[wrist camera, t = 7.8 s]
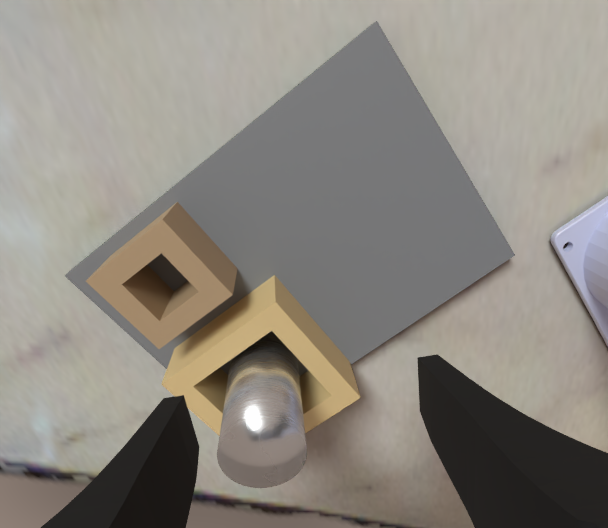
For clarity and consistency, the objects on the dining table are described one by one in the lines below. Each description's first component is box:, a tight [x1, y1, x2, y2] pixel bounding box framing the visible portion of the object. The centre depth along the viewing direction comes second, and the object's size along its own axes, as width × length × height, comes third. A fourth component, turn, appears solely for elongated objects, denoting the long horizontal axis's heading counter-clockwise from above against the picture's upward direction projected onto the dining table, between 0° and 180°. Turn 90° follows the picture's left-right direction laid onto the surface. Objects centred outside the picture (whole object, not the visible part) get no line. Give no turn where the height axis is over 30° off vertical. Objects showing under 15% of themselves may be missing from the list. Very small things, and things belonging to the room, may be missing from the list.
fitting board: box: [65, 21, 515, 436], centre depth 20 cm, size 13×18×4 cm
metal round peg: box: [217, 331, 307, 488], centre depth 20 cm, size 3×3×7 cm
